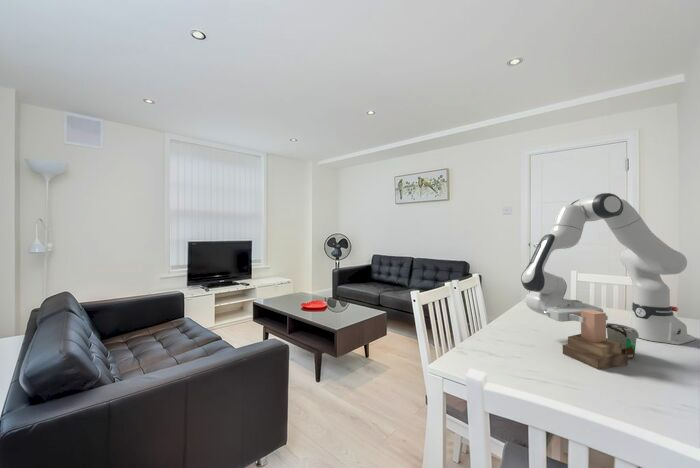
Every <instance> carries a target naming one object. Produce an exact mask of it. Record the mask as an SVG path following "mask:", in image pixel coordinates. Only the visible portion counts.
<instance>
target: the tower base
mask: <svg viewBox="0 0 700 468" xmlns="http://www.w3.org/2000/svg"><path fill="white" fill-rule="evenodd" d="M562 355H564V356H566V357H568V358H570V359H572V360H576V361H578V362H580V363H582V364H584V365H586V366H588V367H591V368H592V369H596V370H602V369H603V370H605V369H610V368H617V367H619V368H620V367H627V366H629V359H628V355H625V354H623V353H621V354H619V355H615V356H611V357H608V358H604V359H600V358H597V357H595V356H592V355H589V354H586V353H583V352H580V351H577V350H574V349H571V348H568V343H567V344H562Z"/></svg>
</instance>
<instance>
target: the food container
mask: <svg viewBox="0 0 700 468" xmlns="http://www.w3.org/2000/svg"><path fill="white" fill-rule="evenodd" d="M606 338H608V339H611V340H615V341H618V342H621V353H623V354H625V355H628V360H633V359H635V355H636V346H637V339H640V338H639V335H638V332H637V330H636V329H634V328H631V327H629V326H628V325H623V324H619V323H610V322H606Z"/></svg>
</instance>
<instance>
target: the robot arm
mask: <svg viewBox="0 0 700 468" xmlns="http://www.w3.org/2000/svg"><path fill="white" fill-rule="evenodd" d="M599 220H604V222H605V223H606V224H607V226H608V227H609V229H610V231H611V232H612V234H613V235H614V236H615V238H616V239H617V241H618V242H619V243H620V244H621V245H622V246H623V247H626V249H624V250H623V251H622V252H621V254H620V257H619V258H620V262H621V264H622V265H623V266H624V267H625V268H626V270H627V272H628V274H629V276H630V280H631V283H632V289H633V290H632V291H633V292H632V293H633V302H632V303H631V308H632V309H631V310H632V312H631V313H630V316H629V324H628V325H629V326H628V327H631V328H634V329H636V330H637V332H638V335H639V338H638V339H642V340H646V341H651V342H656V343H657V342H658V343H667V344H672V345H678V346H679V345H683V344H686V343H689V342H692V341H693V342H694V341H696V340H697V338H696V337H695V336H693V335H691V334H688V327H687V325H686V324H685V322H683V321H681V320H680V319H679V318H678V317H676V315H674V312H675V313H677V312H678V310H679V308H678V307H677V306H672V305H671V303H670V301H671V292H670V291H671V290H670V287H669V286H668V285H667V284H666V283H665V282H664V280H663V279H662V277H661V275H662V276H666V275H667V276H670V275H677V274H678V275H679V274H680V273H682V272H684V271H685V270H686V268H687V266H688V260H687V258H686V256H685V255H684V254H683V253H682V252H680V251H677V250H676V249H674V248H672V247H670V245H668V244H667V243H666V242H664V241H663V240H662V239H660V237H658V236H657V235H656V234H655V233H654V232H652V230H651V229H650V228H649V226H648V225H647V224H646V222H645V221H644V219H643V218H642V217H641V216H640V214H639V212H637V210H636V209H635V208H634V207H633V206H632V205H631V204H630V203H629V202H628V201H627V200H625V199H624V198H623V199H622V198H620V197H619V196H618V195H616V194H614V193H610V192H604V193H600V194H599V193H598V194H593V195H589V196H588V195H587V196H586V197H584V198H581V199H577V200H575V201H573V202H571V203H570V204H565V205H562V206H561V207H560V208H559V210H558V211H557V213H556V216H555V218H554V220H553V223H552V226H551V229H550V231H549V232H548V233H547V234H546V235H544V236H542V238H541V239H540V240H539V242H538V244H537V246H536V248H535V250H534V253H533V254H532V257H531V258H530V261H529V263H528V265H526V268H525V269H524V271H523V272H522V273H521V276H520V281H521V284H522V286H523V288H524V289H525V290H527V291H529V293H527V294H526V295H525V298H524V301H525V305H526V306H527V308H529V310H531V311H533V312H535V313H537V314H540V315H541V316H547V317H548V318H549V319H552V320H554V321H556V322H561V323H564V322H572V321H573V322H579V323H581V322H586V318H585V317H583V316H581V310H596V311H600V312H604V310H603V308H602V307H599V306H596V305H592V304H589V303H585V302H584V303H583V301H581V300H577V299H567V298H564V297H565V295H566V292H567V288H568V286H567V285H568V284H567V283H566V282H567V281H565V279H564V278H563V277H562V276H561V277H560V276H558V275H556V274H553V273H549V272H547V271H545V267H546V264H547V262H548V260H549V258H550V256H551V254H552V253H553V252H554V251H556V250H561V249H562V250H563V249H564V250H565V249H570V248H573V247H575V246H576V245H578V243H579V242H580V240H581V238H582V234H583V231H584V227H585V224H586V222H595V221H599ZM608 319H609V316H608V315H607V314H606V321H608Z"/></svg>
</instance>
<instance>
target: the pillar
mask: <svg viewBox="0 0 700 468" xmlns="http://www.w3.org/2000/svg"><path fill="white" fill-rule="evenodd" d="M606 315H607V313H606V312H604V311H603V312H600V311H596V310H581V316H583V317H585V318H586V322H580V334H581V338H584V339H587V340H590V341H592V342H602V341H606V338H607V328H606V325H607V320H606Z"/></svg>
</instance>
